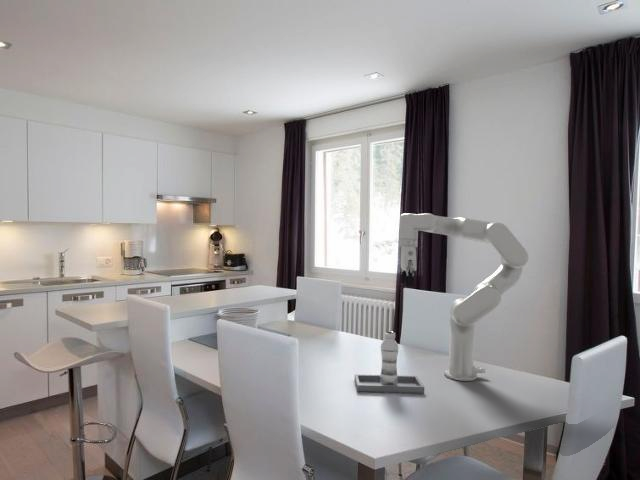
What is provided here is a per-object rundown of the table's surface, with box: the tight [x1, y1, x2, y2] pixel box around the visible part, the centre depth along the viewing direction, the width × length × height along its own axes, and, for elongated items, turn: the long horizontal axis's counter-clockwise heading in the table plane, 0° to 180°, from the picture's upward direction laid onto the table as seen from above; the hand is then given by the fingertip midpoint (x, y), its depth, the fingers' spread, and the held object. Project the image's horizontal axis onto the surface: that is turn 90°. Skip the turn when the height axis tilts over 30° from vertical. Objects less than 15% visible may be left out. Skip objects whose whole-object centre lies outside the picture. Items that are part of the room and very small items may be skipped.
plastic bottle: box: [379, 331, 400, 385], centre depth 163 cm, size 6×7×20 cm
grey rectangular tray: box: [354, 373, 425, 395], centre depth 164 cm, size 24×12×3 cm, turn 91°
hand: (406, 284), depth 183 cm, fingers open, 9 cm apart
